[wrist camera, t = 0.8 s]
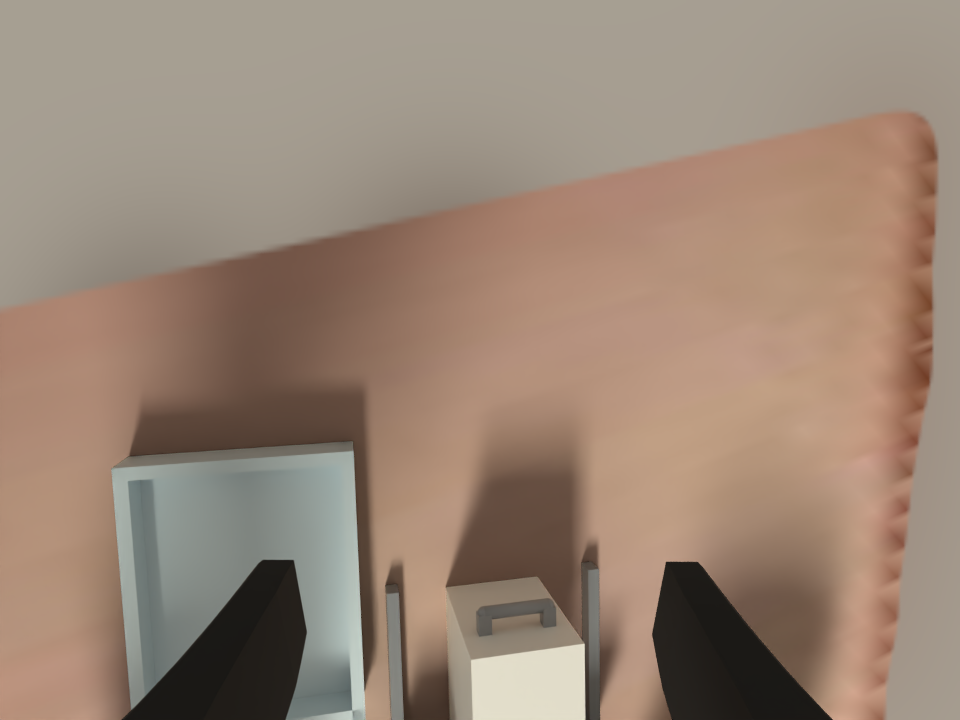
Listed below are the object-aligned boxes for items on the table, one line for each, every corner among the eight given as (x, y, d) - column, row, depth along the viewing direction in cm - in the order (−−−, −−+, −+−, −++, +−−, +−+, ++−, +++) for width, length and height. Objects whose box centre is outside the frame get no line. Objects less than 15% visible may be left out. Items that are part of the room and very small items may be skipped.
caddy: (541, 715, 35) (588, 814, 28) (449, 730, 34) (476, 837, 27) (538, 554, 34) (586, 616, 27) (444, 564, 33) (470, 632, 26)
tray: (364, 692, 33) (365, 720, 31) (149, 724, 31) (134, 756, 28) (353, 441, 31) (353, 451, 29) (128, 456, 29) (111, 468, 27)
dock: (593, 726, 36) (632, 793, 31) (392, 761, 33) (400, 839, 28) (591, 561, 35) (632, 603, 30) (385, 585, 32) (392, 635, 28)
